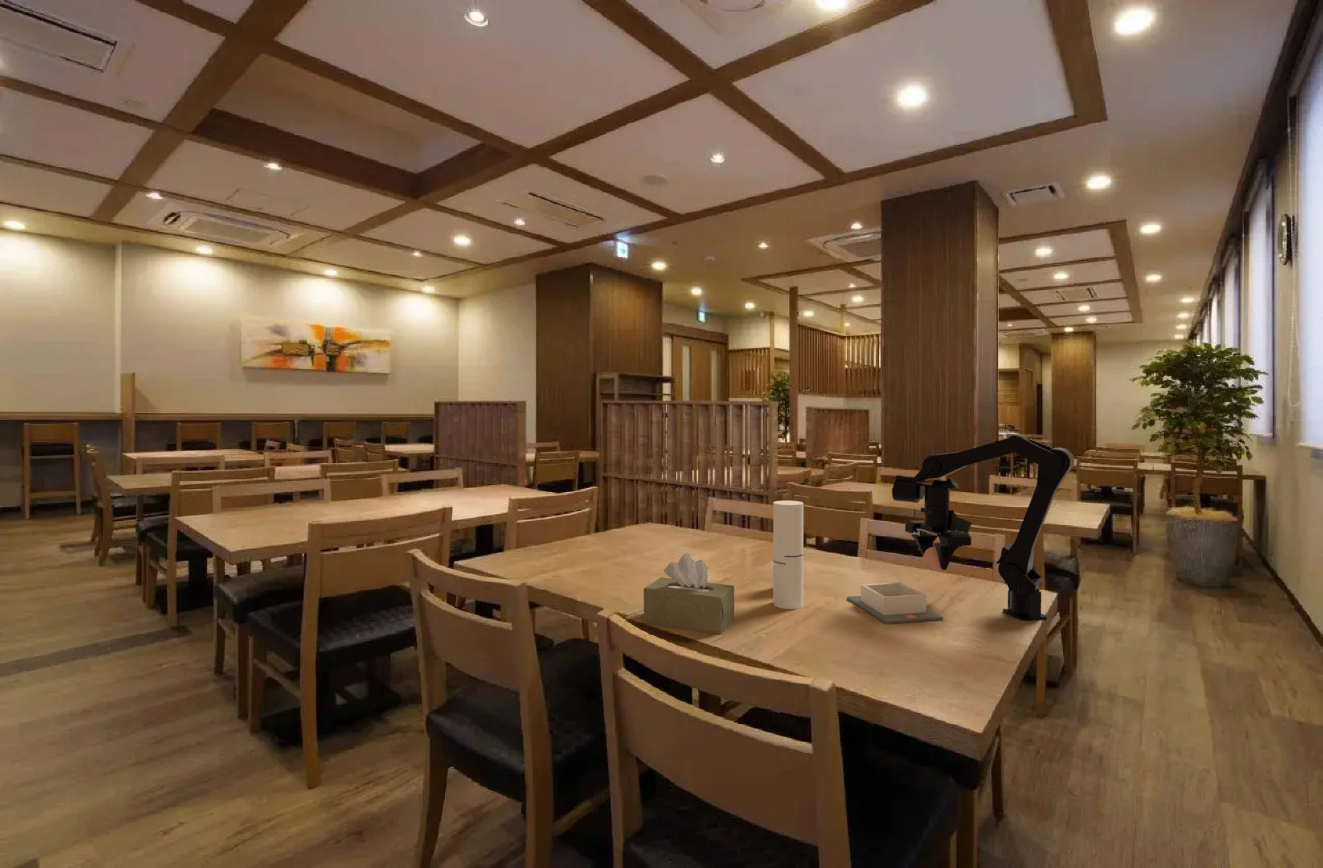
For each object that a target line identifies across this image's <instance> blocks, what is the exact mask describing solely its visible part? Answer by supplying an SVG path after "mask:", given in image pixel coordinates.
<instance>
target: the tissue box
mask: <svg viewBox="0 0 1323 868" xmlns="http://www.w3.org/2000/svg"><path fill="white" fill-rule="evenodd" d="M708 570H709V567H708V566H707V564H705V561H704V560H703V559H698V560H694V559H692V557H691V554H690V553H683V554H682V556H681V557H680V558H679V560H678V561H677V562H674V561H670V562H669V563H668V565H666V567H665V568H663V572H664V573H665V575H666V576H667V577H659V578H658V579H656V580H655V581H653V582H652V583H650V584H649V585H647V586H645V587H643V624H649V625H656V626H664V627H670V628H678V629H684V630H689V631H697V632H702V633H709V634H717V635H722V634H723V633H724V631H726V630H727V628H729V626H730V625H731V624H732V623H733V622H734V621H735V586H734V585H731V584H723V583H715V582H714V583H713V582H707V581H708Z"/></svg>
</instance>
